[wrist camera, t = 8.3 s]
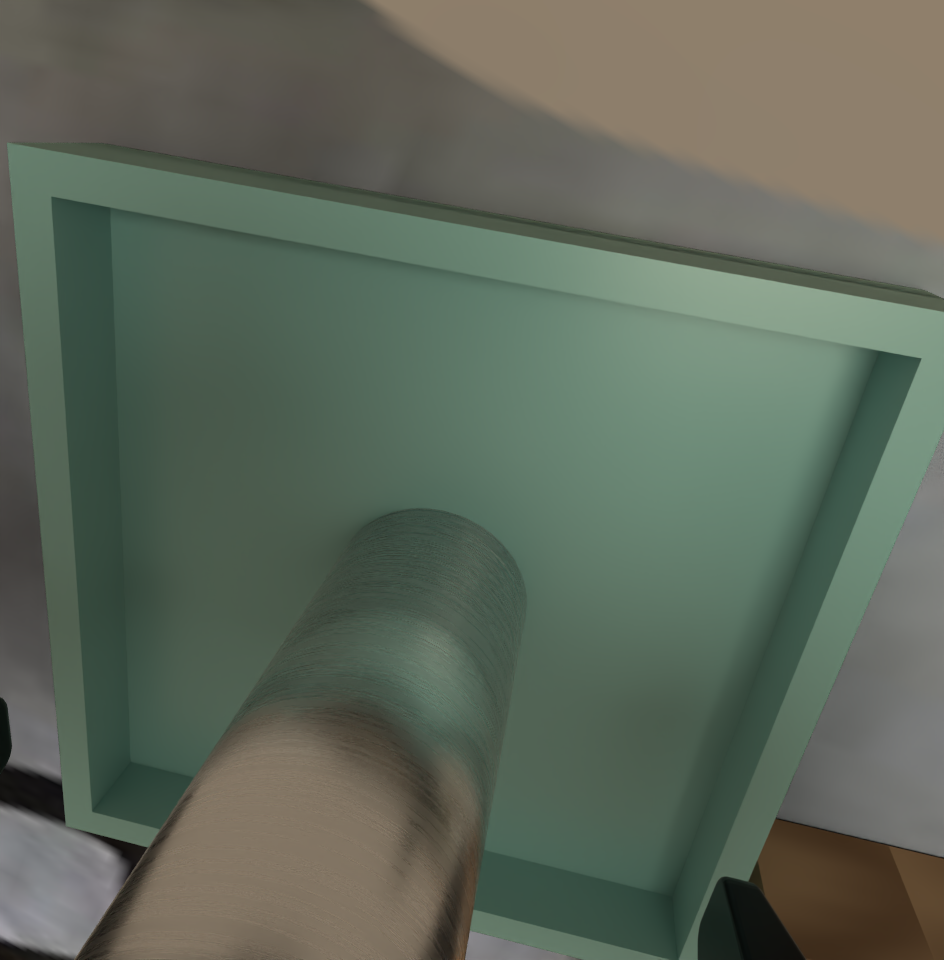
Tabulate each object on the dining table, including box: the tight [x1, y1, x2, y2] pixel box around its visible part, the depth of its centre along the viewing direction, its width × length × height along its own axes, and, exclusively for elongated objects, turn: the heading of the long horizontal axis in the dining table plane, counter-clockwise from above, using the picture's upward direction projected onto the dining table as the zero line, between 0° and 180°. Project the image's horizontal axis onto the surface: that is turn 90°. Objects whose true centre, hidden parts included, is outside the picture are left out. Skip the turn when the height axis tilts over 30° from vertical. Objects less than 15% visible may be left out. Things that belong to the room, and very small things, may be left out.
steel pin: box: [74, 508, 527, 960], centre depth 10 cm, size 5×5×10 cm
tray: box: [7, 143, 944, 960], centre depth 14 cm, size 13×13×2 cm
